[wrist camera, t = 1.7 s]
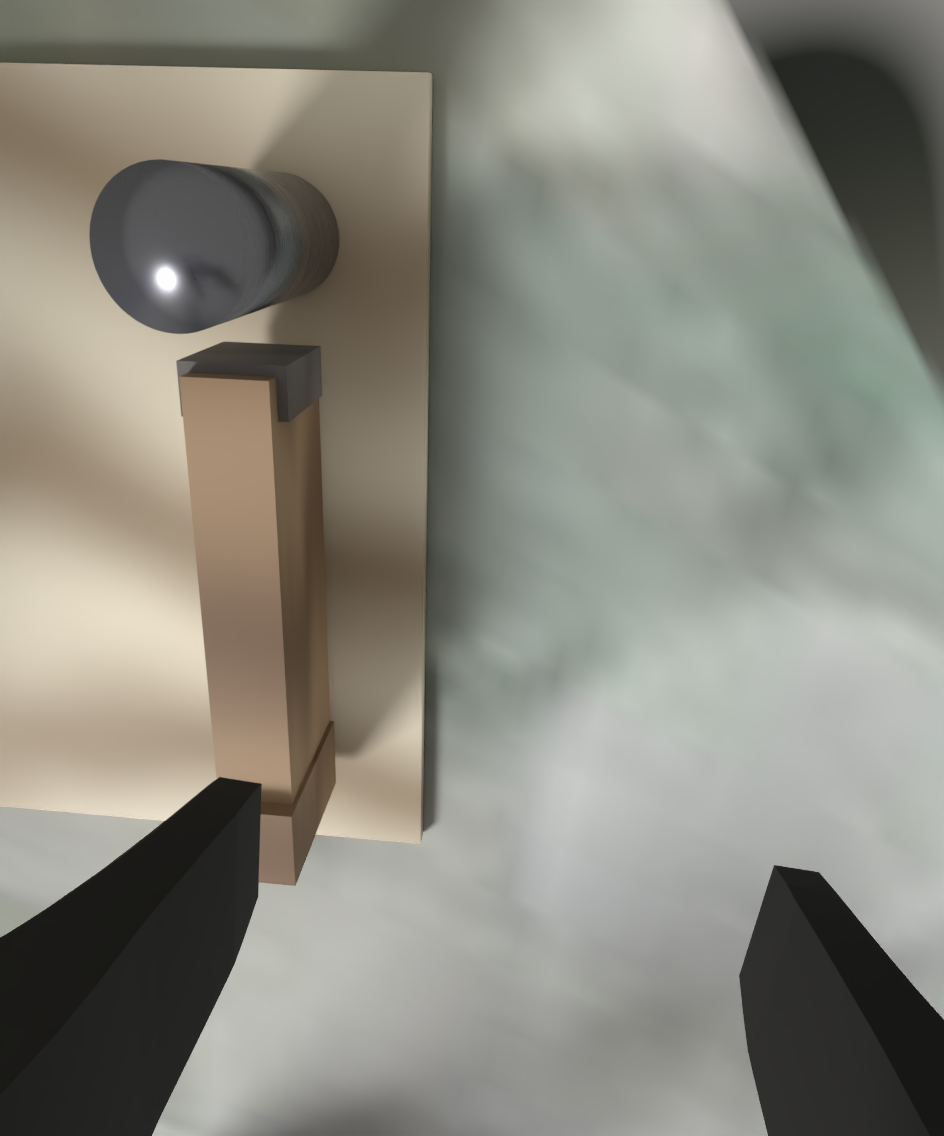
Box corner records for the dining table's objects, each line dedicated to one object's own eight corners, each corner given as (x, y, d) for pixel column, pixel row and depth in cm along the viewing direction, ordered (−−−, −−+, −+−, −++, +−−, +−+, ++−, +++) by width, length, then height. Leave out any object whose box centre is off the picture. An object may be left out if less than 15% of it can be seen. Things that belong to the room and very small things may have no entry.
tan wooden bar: (232, 337, 19) (157, 368, 15) (326, 342, 18) (272, 374, 15) (262, 776, 23) (209, 877, 19) (339, 782, 23) (299, 886, 19)
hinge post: (345, 298, 19) (254, 337, 13) (234, 293, 19) (100, 330, 14) (343, 174, 18) (244, 162, 12) (226, 170, 18) (79, 156, 13)
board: (422, 833, 24) (420, 843, 24) (-138, 784, 25) (-149, 792, 25) (432, 74, 17) (429, 72, 17) (-338, 56, 18) (-357, 54, 18)
